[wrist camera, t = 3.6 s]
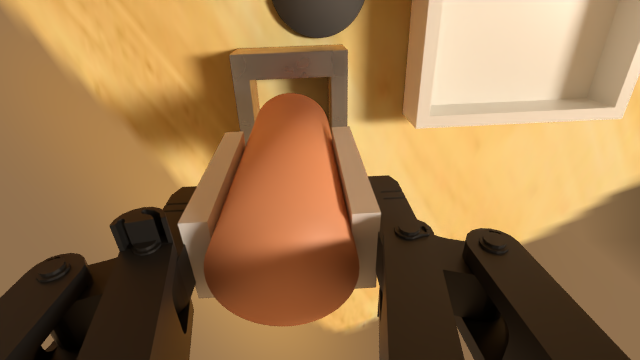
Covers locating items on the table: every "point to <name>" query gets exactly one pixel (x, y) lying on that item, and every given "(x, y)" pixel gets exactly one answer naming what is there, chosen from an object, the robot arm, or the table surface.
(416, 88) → the dock cradle
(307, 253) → the pin
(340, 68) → the pin mount
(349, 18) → the pin pad
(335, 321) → the table surface
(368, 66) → the table surface
